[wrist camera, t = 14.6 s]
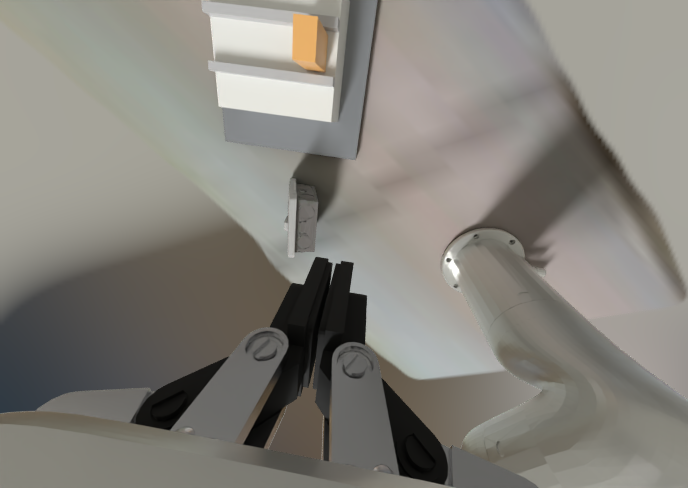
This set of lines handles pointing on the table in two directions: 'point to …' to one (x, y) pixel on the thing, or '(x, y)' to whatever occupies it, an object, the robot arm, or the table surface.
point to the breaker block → (291, 74)
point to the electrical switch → (301, 218)
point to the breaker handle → (309, 43)
